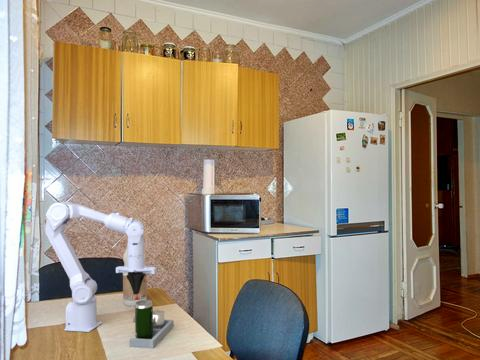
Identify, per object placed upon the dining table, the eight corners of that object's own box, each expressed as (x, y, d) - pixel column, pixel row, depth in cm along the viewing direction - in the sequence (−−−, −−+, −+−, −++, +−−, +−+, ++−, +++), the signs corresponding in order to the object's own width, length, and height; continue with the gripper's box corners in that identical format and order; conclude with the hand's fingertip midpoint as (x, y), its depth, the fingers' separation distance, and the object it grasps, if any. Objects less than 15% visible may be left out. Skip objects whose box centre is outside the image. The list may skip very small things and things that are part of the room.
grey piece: (129, 346, 110) (129, 339, 110) (152, 325, 127) (152, 318, 127) (153, 348, 109) (153, 340, 109) (173, 326, 126) (173, 320, 126)
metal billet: (146, 333, 120) (146, 315, 120) (152, 327, 125) (152, 310, 125) (160, 334, 119) (160, 316, 119) (166, 328, 124) (166, 310, 124)
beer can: (138, 346, 111) (138, 306, 111) (133, 340, 115) (132, 301, 115) (155, 341, 114) (155, 303, 114) (149, 336, 118) (149, 298, 118)
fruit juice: (123, 307, 146) (122, 237, 146) (122, 300, 155) (121, 234, 155) (147, 304, 149) (147, 235, 149) (145, 298, 158) (144, 233, 158)
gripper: (111, 256, 127) (111, 296, 127) (150, 257, 124) (151, 297, 124) (121, 253, 134) (121, 290, 134) (158, 253, 131) (159, 291, 131)
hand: (136, 293), depth 129 cm, fingers closed
